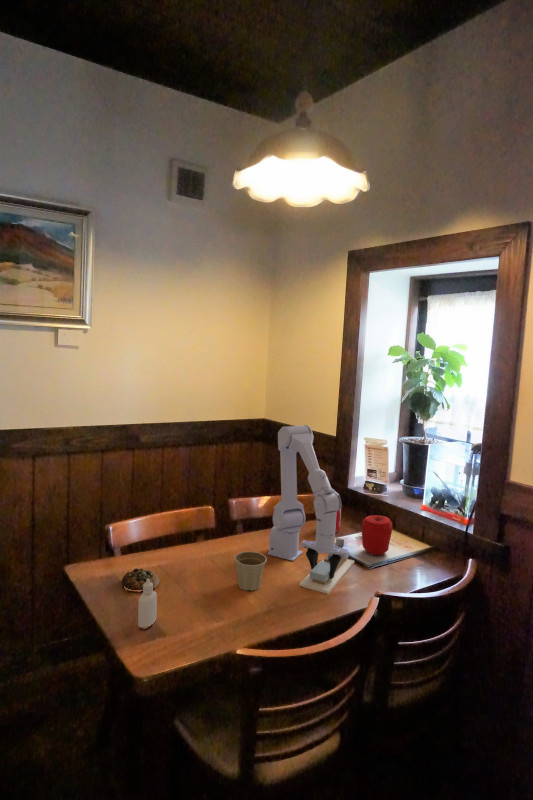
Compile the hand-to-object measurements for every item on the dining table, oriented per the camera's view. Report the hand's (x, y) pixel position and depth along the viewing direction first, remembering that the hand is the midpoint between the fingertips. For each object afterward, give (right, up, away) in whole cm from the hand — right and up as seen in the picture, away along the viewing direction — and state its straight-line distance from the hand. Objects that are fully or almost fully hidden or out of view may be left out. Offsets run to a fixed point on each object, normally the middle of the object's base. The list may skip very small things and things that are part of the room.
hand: (322, 575), depth 160 cm
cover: (0, 0, 0) cm, 0 cm away
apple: (+20, 0, +22) cm, 30 cm away
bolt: (+5, +4, +9) cm, 11 cm away
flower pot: (-22, -2, -5) cm, 23 cm away
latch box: (+2, -1, +5) cm, 5 cm away
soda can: (+8, +3, +41) cm, 42 cm away
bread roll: (-53, -1, -7) cm, 54 cm away
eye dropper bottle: (-47, -3, -27) cm, 54 cm away
